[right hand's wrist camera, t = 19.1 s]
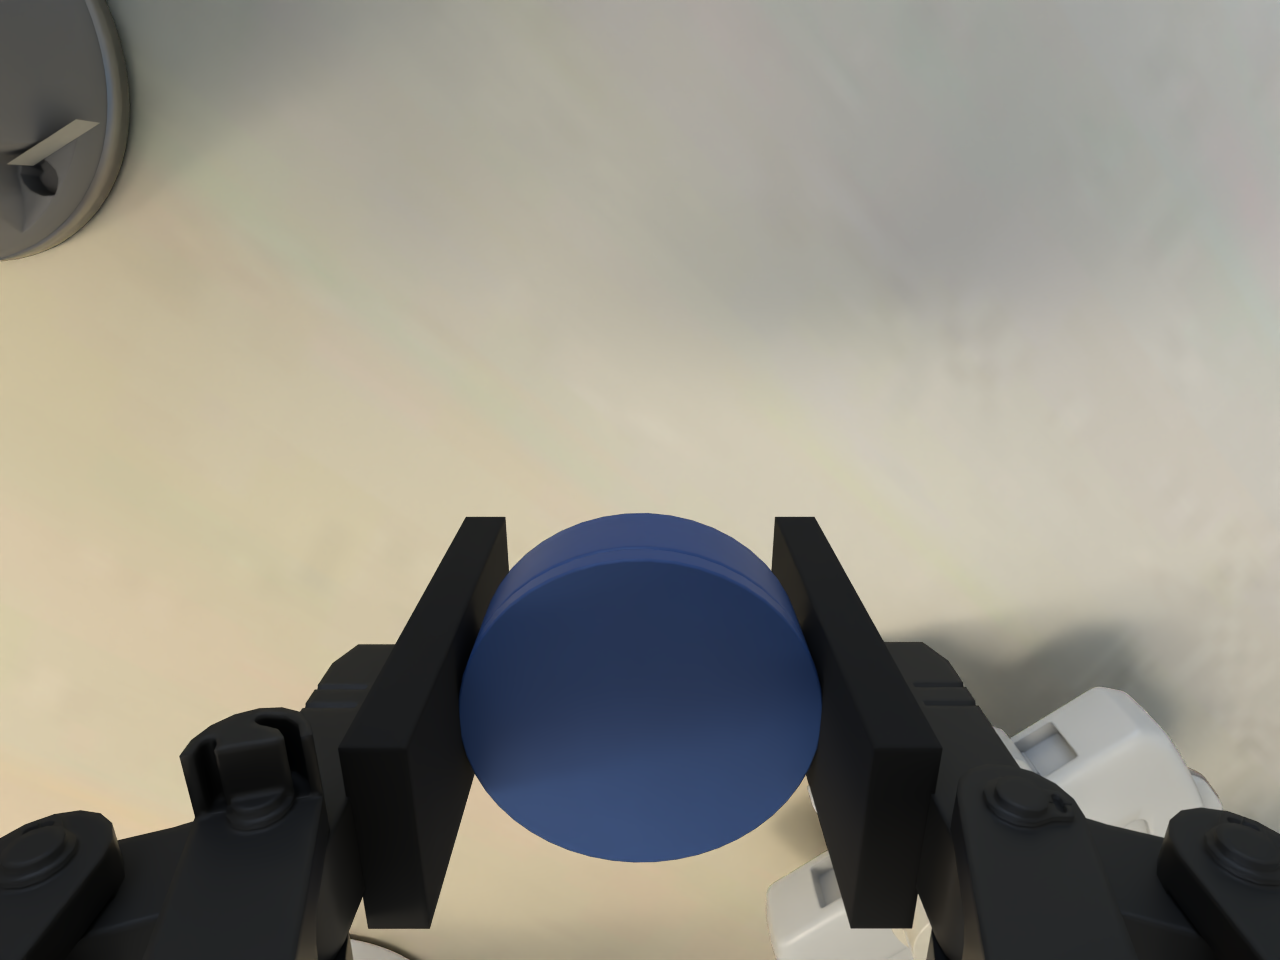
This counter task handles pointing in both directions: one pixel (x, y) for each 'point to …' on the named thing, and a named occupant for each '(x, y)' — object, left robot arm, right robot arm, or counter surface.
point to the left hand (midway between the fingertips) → (876, 753)
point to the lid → (640, 691)
